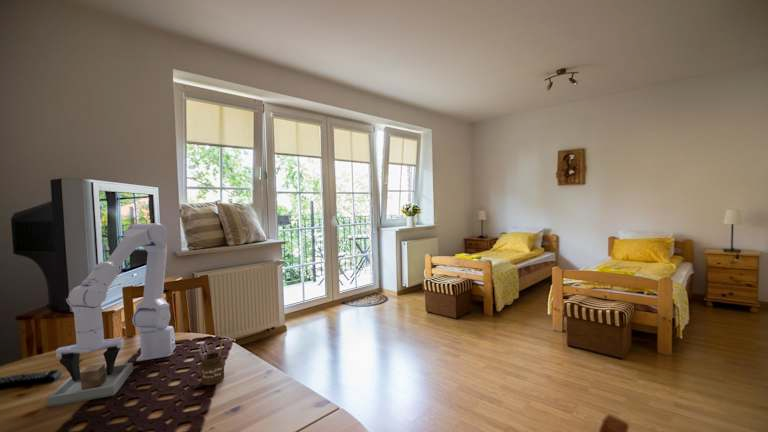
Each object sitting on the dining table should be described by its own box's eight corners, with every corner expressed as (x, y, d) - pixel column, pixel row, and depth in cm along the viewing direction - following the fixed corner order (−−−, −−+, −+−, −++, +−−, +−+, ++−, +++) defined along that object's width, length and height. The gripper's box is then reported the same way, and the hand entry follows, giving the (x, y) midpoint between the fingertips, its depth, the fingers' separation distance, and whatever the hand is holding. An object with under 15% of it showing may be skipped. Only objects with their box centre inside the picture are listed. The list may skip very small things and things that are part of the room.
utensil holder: (201, 378, 98) (198, 337, 97) (225, 372, 101) (222, 332, 100) (200, 388, 93) (197, 345, 92) (226, 381, 96) (223, 340, 95)
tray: (133, 370, 104) (132, 362, 104) (114, 395, 91) (113, 386, 90) (76, 380, 99) (75, 371, 99) (47, 407, 86) (46, 398, 86)
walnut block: (106, 380, 97) (104, 363, 97) (99, 387, 94) (98, 370, 93) (89, 383, 96) (87, 366, 96) (81, 390, 92) (80, 372, 92)
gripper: (47, 338, 88) (52, 389, 88) (115, 329, 92) (119, 378, 93) (62, 328, 94) (66, 376, 95) (125, 320, 99) (128, 366, 100)
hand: (93, 376), depth 95 cm, fingers open, 7 cm apart
